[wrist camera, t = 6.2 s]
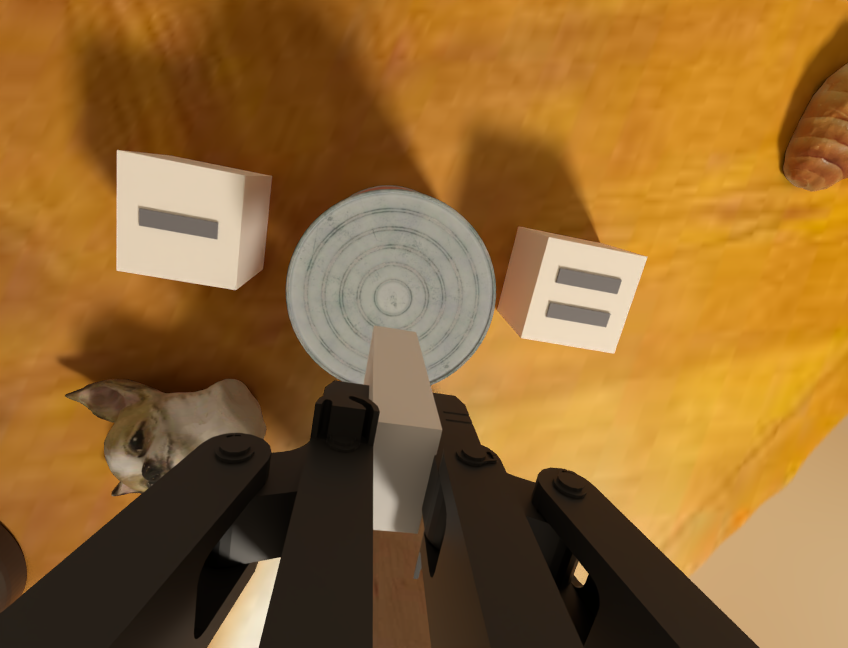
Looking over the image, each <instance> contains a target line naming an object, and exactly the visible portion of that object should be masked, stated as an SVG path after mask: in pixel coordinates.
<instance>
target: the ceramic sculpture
mask: <svg viewBox="0 0 848 648" xmlns="http://www.w3.org/2000/svg"><path fill="white" fill-rule="evenodd" d="M65 396H66V397H67V398H69V399H72V400H74V401H77V402H80V403H81V404H83V405H84V406H86V407H87V408H88V409H89V410H91V411H92V413H93V414H94V415H96V416H97V417H99V418H101V419H104V420H107V421H110V422H114V423H115V424H114V425H113V427H112V428H111V430H110V431H109V433H108V434H107V437H106V439H105V442H104V453H105V458H106V461H107V463H108V466H109V468H110V470H111V472H112V473H113V475H114V476H115V477H116V478H117V479H118V480H119V481H120V483H119V484H118V485H117V486H116V487H115V488H114V490H113V491H112V496H119V495H124V494H128V493H141V494H142V493H143V492H145V491H146V490H147V489H148V488H149V487H151V486H152V485H153V484H154V483H155V482H156V481H158V480H159V479H160V478H161V477H162V476H164V475H165V474H166V473H167V472H168V471H169V470H171V469H172V468H173V467H174V466H175V465H177V464H178V463H179V462H180V461H181V460H183V459H184V458H185V457H186V456H187V455H188V454H190V453H191V452H192V451H193V450H194V449H196V448H197V447H198V446H199V445H200V444H201V443H203V442H205V441H206V440H208V439H210V438H212V437H214V436H218V435H222V434H226V433H245V434H252V435H254V436H257V437H259V438H262V439H264V436H265V433H266V425H265V423H264V420H263V416H262V413H261V407H260V405H259V403H258V401H257V400H256V399H255V397H254V396H253V395H252V394H251V392H250V391H249V390H248V388H247V387H246V385H245V384H244V383H242V382H241V381H239V380H236V379H224V380H222V381H219V382H217V383H215V384H214V385H212V386H210V387H209V388H207V389H204V390H200V391H197V392H175V393H163V392H161V391H159V390H157V389H155V388H153V387H149V386H147V385H144V384H142V383H139V382H136V381H132V380H129V379H108V380H104V381H99V382H95V383H92V384H89V385H87V386H85V387H84V388H81V389H79V390H76V391H74V392H71V393H68V394H66V395H65Z"/></svg>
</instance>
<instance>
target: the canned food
mask: <svg viewBox="0 0 848 648" xmlns="http://www.w3.org/2000/svg"><path fill="white" fill-rule="evenodd" d="M495 301H496V281H495V274H494V268H493V265H492V261H491V258H490V256H489V253H488V251H487V248H486V247H485V245H484V243H483V241H482V239H481V238H480V236H479V235H478V233H477V232H476V230H475V229H474V228H473V227H472V225H471V224H470V223H469V222H468V221H467V220H466V219H465V218H464V217H463V216H462V215H460V214H459V213H458V212H457V211H456V210H454V209H453V208H451V207H450V206H448V205H447V204H445V203H443V202H441V201H439V200H438V199H436V198H433V197H431V196H428V195H425V194H422V193H420V192H417V191H415V190H412V189H409V188H406V187H401V186H392V185H383V186H375V187H371V188H367V189H364V190H361V191H359V192H357V193H355V194H353V195H351V196H350V197H348V198H346V199H344V200H342V201H340V202H338V203H337V204H335V205H333V206H332V207H330V208H329V209H328V210H326V211H325V212H324V213H322V214H321V215H320V216H319V217H318V218H317V219H316V220H315V221H314V222H313V223H312V224H311V225H310V226H309V228H308V229H307V230H306V231H305V233H304V234H303V236H302V237H301V239H300V241H299V242H298V244H297V246H296V248H295V250H294V253H293V255H292V257H291V261H290V264H289V267H288V273H287V278H286V303H287V309H288V314H289V318H290V321H291V324H292V327H293V329H294V331H295V334H296V336H297V338H298V339H299V341H300V343H301V345H302V346H303V348H304V349H305V350H306V352H307V353H308V354H309V355H310V357H311V358H312V359H313V360H314V361H315V362H316V363H317V364H318V365H319V366H320V367H321V368H323V369H324V370H325V371H327V372H328V373H329V374H331V375H332V376H334V377H335V378H337V379H339V380H341V381H343V382H349V383H356V384H364V378H365V373H366V367H367V361H368V356H369V350H370V344H371V339H372V333H373V327H374V325H375V326H381V327H387V328H394V329H400V330H406V331H412V332H416V333H417V337H418V341H419V344H420V348H421V352H422V356H423V359H424V363H425V367H426V371H427V374H428V378H429V382H430V385H432V384H435V383H437V382H439V381H441V380H443V379H445V378H446V377H448V376H449V375H451V374H452V373H454V372H455V371H457V370H458V369H459V368H460V367H461V366H463V365H464V364H465V363H466V362H467V361H468V360H469V359H470V357H471V356H472V355H473V354H474V353H475V351H476V350H477V349H478V347H479V346H480V344H481V343H482V341H483V339H484V337H485V335H486V333H487V331H488V329H489V326H490V323H491V320H492V317H493V313H494V308H495Z"/></svg>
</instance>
